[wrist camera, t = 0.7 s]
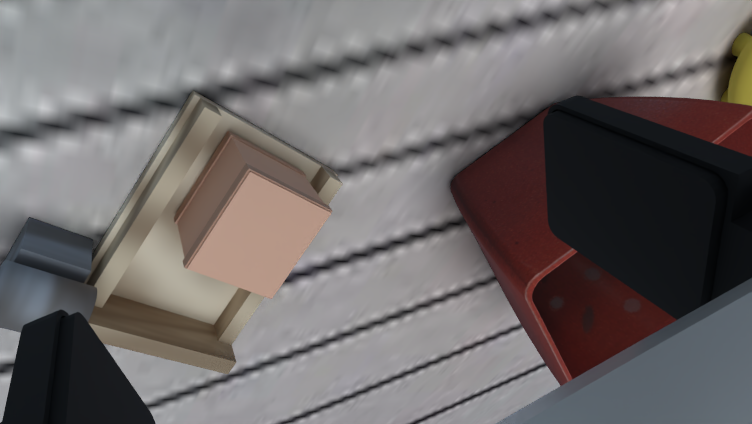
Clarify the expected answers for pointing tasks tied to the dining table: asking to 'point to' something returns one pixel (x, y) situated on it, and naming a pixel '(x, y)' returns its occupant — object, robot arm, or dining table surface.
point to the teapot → (741, 72)
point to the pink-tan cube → (248, 218)
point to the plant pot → (557, 259)
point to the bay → (148, 255)
